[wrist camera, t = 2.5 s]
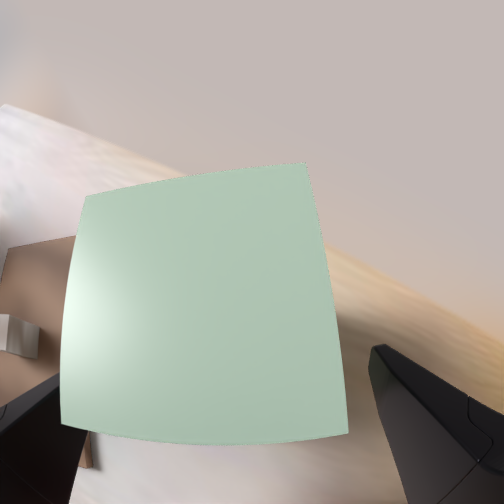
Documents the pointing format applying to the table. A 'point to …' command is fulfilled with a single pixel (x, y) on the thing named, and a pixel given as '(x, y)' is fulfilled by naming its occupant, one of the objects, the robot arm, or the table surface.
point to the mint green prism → (203, 313)
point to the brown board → (34, 318)
